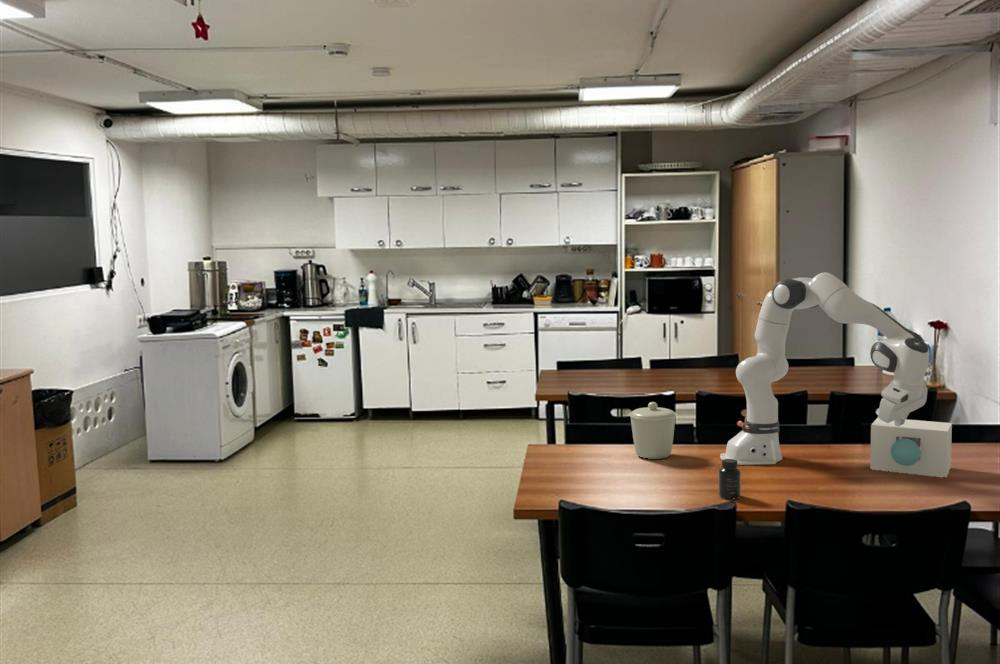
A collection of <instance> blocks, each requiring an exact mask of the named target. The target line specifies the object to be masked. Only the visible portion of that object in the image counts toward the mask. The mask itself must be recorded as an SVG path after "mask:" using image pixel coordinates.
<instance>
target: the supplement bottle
mask: <svg viewBox="0 0 1000 664" xmlns="http://www.w3.org/2000/svg"><path fill="white" fill-rule="evenodd" d="M738 466H739V465H737V460H734V459H724V460H722V459H721V468H719V470H718V495H719V497H720V498H721V499H723V498H725V499H724V500H729V499H733V498H738V497H740V498H741V496H742V494H741V492H742V490H741V487H742V486H741V485H742V483H741V480H742V478H741V477H742V475H741V470H740V469H739V468H738ZM738 499H739V498H738Z"/></svg>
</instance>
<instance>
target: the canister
mask: <svg viewBox="0 0 1000 664" xmlns="http://www.w3.org/2000/svg"><path fill="white" fill-rule="evenodd" d="M628 416H629V417H630V423H631V424H630V425H631V431H632V439H633V445H634V451H635V454H636V455H637V456H638V457H639V456H640V458H641V457H643V458H642V459H645V458H648V459H647V460H662V459H666V458H668V457H669V456H670V455H671V454H672V453H671V452H672V449H673V443H674V435H675V434H674V433H675V427H676V426H675V424H676V418H677V416H678V414H677V413H676V412H675V411H674V410H672V409H670V408H665V407H658V403H657V402H656V401H655V402H654V401H651V402H649V403H648V404H647V407H639V408H636V409H634V410H632V411H631V412H629V413H628Z"/></svg>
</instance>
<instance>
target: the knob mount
mask: <svg viewBox="0 0 1000 664" xmlns="http://www.w3.org/2000/svg"><path fill="white" fill-rule="evenodd" d="M894 422H895V420H894V421H892V422H890V423H886V422H884V421H882V420H880V419H879V417H878V416H877V418H876V419H875V420H873V422H872V423H871V425H870V463H869V466H870V469H872V471H879V470H881V471H882V472H888V471H889V472H890V473H897V472H898V474H906V473H907V474H906V475H908V474H909V475H915V474H916V476H927V477H934V476H935V477H937V478H943V477H946V478H945V479H947V477H948V476H949V473H950V471H949V470H951V468H952V464H951V463H952V439H953V438H952V436H953V435H952V432H953V431H952V430H953V429H952V428H953V425H952V424H953V422H952V423H951V422H944V421H942V422H941V421H929V420H928V421H927V420H920V419H919V420H918V419H907V418H906V420H905V423H904V424H903V425H900V426H899V427H898V426H896V425H894ZM904 437H911V438H918V439H920V457H919V459H918V461H917V462H916V463H915V464H913V465H910V466H903V465H900V464H898V463H897V462H895V461H894V459H893V458H892V456H891V447H892V445H893V444H894V443H895V442H896V441H897V440H900V439H903V438H904ZM870 469H869V470H870ZM881 471H880V472H881ZM889 472H888V473H889Z"/></svg>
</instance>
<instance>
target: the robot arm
mask: <svg viewBox="0 0 1000 664" xmlns="http://www.w3.org/2000/svg"><path fill="white" fill-rule="evenodd" d="M818 307H820V309H822V310H823V312H825V314H827V316H828V317H829V318H831V319H832V320H834V321H835V322H837V323H840V324H845V325H846V324H855V325H856V324H857V325H860V324H861V325H867V326H869V327H872V328H873V329H875V330H877V331H878V332H879V333H881V334H882V335H883V336H885V337H886V338H884V339H882V340H879V341H877V342H875V343H873V344H872V346H871V348H870V359H871V362H872V363H873V364H874V365H875V367H876V368H878V369H880V370H882V371H884V372H888V373H891V374H892V373H893V374H894V375H893V379H892V380H891V381H890V383H889V384H888V385H887V386H886V387H885V388H883V390H882V391H881V394H880V395H881V397H882V398H881V400H880V402H879V408H878V415H877V418H878V417H879V419H880V420H882V421H884V422H886V423H890V422H892V421H894V420H895V422H894V425H896V426H898V427H899V426H900V425H903V424H904V423H905V420H906V419H907V418H908V416H909V415H910V413H911V412H914V411H916V410H918V409H920V408H922V407H923V406H925V404H926V402H927V399H928V387H927V383H928V382H927V381H926V380H925V375H926V373H927V371H928V368H929V367H928V366H929V362H930V348H929V345H928V344H927V343H926V342H925V340H924V338H923V337H922V336H921V335H919V333H917V332H915V331H913V330H910V329H908V328H907V327H905V326H904V325H902V323H900V322H899V321H898V320H896V319H894V318H893V317H892V316H891V315H890V314H889V313H888V312H886V311H884V310H883V309H882V308H880V307H879V306H877V305H876V304H874V303H872V302H870V301H868V300H867V299H865V298H862V297H861V296H859V295H858V294H857V293H855V292H854V291H853V290H852V289H851V288H850V287H849V286H848V285H846V283H845V282H843V281H842V280H841V279H840V278H838V277H836V275H833V274H832V273H830V272H826V271H824V272H821V273H818V274H816V275H815V276H814V277H795V278H785V279H782V280H779V281H777V282H776V283H775V284H774V285H773V288H772V290H769V292H767V294H766V295H765V297H764V300H763V302H762V304H761V308H760V310H759V313H758V318H757V323H756V327H755V331H754V339H755V341H756V345H757V352H756V355H754V356H750V357H747V358H746V359H744V360H742V361H741V362H739V363H738V365H737V366H736V369H735V376H736V378H737V381H738V382H739V383H740V384H741V385H742V388H743V391H744V393H745V399H746V415H747V420H746V421H745V420H744V422H743V421H742V420H739V421H737V423H736V424H737V427H740V428H741V429H742V430H740V431H739V432H738V433H737V434H736V435H734V436H733V437H732V438H730V439H729V440H728V441H727V444H726V449H725V452H722V453H720V454H719V458H720V459H721V461H722V460H724V459H734V460H737V465H738V466H741V465H745V466H746V465H747V466H749V465H776V464H777V463H778V462H781V461H782V460H783V456H782V451H781V447H780V441H779V439H780V438H779V436H780V422H779V401H778V399H777V398H776V397H775V395H774V393H773V388H772V383H775V382H778V381H780V380H781V379H782V378H784V377H785V376H786V375H787V373H788V371H789V362H788V359H787V358H786V342H787V341H786V340H787V336H788V332H789V328H790V323H791V318H792V316H793V312H794V310H803V309H813V308H818Z"/></svg>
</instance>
